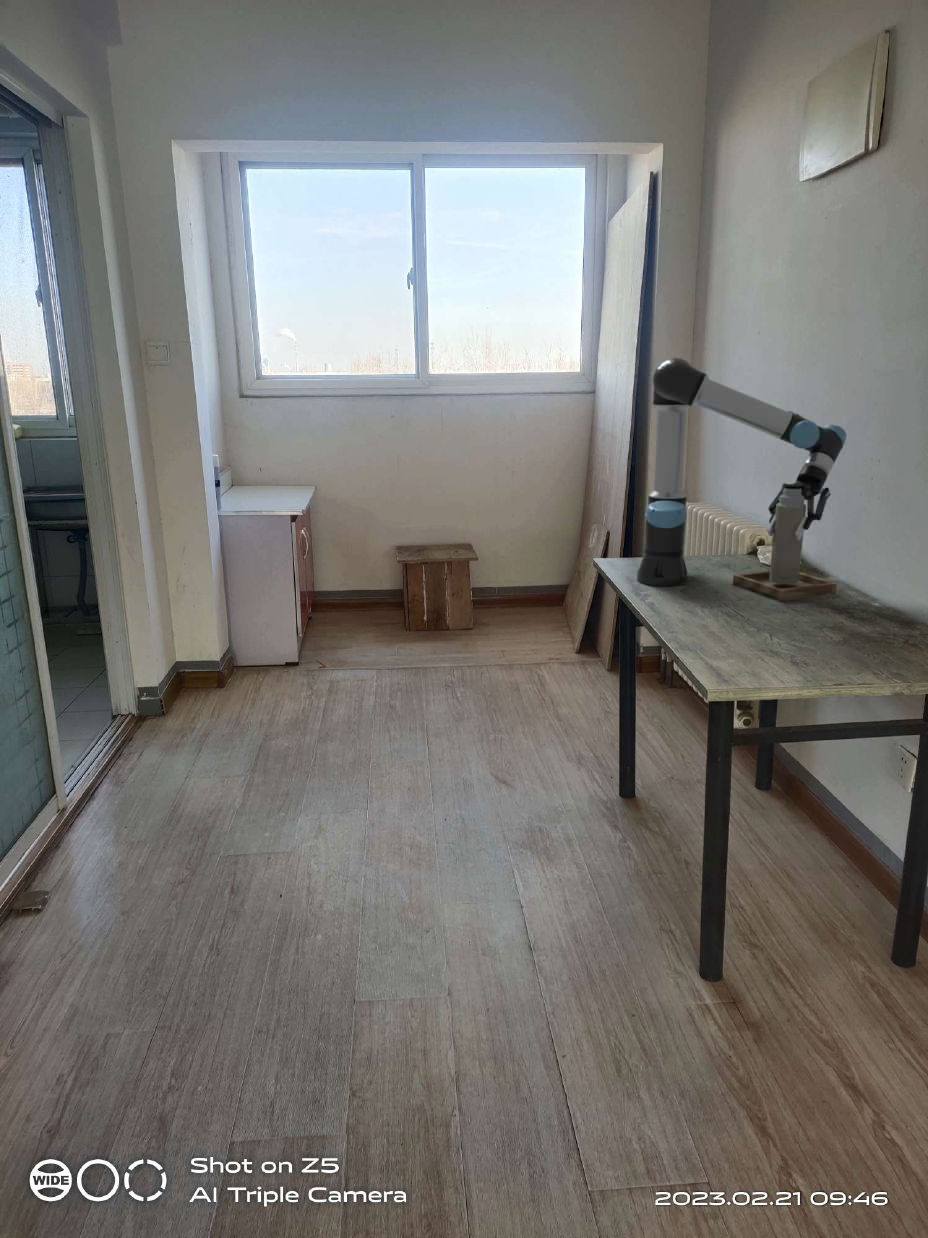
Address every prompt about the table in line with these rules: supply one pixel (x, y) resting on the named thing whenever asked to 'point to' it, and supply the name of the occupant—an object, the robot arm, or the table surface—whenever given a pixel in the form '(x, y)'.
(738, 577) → the walnut tray
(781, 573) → the thermos bottle
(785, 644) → the table surface
